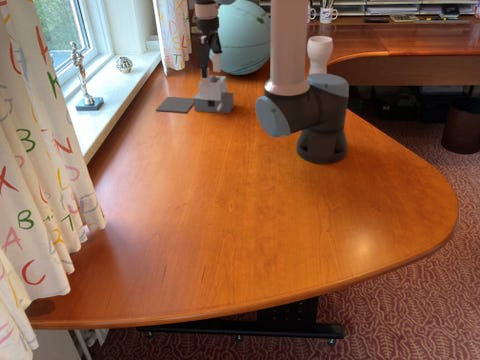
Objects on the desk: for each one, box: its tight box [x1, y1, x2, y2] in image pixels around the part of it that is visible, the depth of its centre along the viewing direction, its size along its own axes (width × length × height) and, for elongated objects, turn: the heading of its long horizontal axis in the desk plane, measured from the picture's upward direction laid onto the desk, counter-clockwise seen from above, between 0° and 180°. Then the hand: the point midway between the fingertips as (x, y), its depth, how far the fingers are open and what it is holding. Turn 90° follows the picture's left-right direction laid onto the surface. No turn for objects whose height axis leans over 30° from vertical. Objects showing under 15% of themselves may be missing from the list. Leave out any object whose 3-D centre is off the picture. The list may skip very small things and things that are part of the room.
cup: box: [306, 35, 334, 76], centre depth 170 cm, size 11×11×15 cm
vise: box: [192, 75, 235, 114], centre depth 145 cm, size 12×13×12 cm
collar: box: [197, 75, 228, 101], centre depth 145 cm, size 8×8×6 cm
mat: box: [155, 96, 194, 114], centre depth 153 cm, size 12×12×1 cm
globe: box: [209, 0, 271, 76], centre depth 171 cm, size 30×30×30 cm
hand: (211, 78), depth 144 cm, fingers open, 13 cm apart
